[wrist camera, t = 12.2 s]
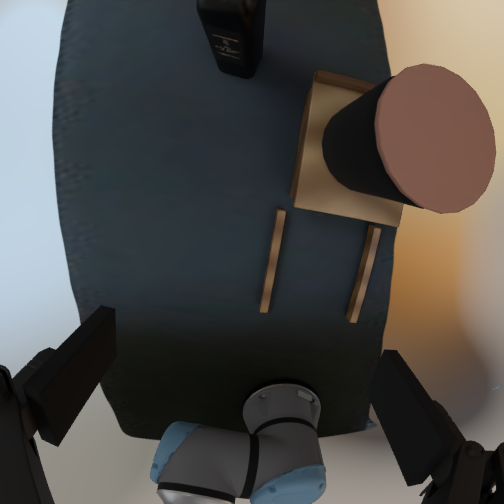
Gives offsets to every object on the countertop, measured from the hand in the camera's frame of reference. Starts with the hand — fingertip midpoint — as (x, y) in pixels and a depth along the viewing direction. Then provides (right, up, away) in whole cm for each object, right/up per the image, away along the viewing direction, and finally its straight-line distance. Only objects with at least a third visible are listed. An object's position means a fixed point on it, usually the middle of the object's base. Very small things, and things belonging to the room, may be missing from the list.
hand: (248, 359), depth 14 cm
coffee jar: (+13, +17, +20) cm, 30 cm away
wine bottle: (-2, +34, +27) cm, 43 cm away
